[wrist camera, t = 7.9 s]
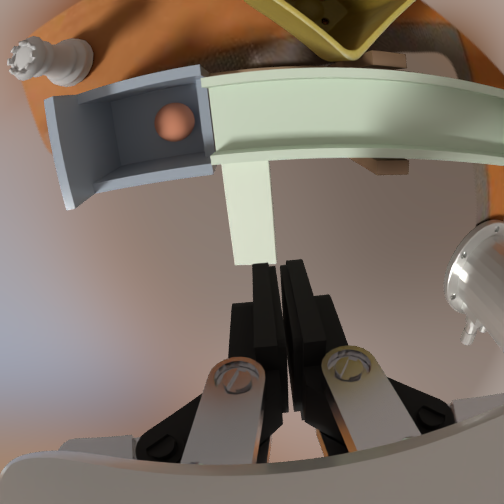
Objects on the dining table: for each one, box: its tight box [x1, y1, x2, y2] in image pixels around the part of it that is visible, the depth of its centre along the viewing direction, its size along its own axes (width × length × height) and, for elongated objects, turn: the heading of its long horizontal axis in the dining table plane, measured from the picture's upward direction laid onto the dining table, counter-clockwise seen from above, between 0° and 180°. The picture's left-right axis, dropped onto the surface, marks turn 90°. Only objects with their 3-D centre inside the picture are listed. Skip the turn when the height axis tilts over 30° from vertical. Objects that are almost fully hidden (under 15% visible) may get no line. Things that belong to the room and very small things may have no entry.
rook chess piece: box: [7, 36, 93, 87], centre depth 16 cm, size 4×4×8 cm
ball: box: [154, 103, 195, 142], centre depth 21 cm, size 3×3×3 cm
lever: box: [201, 68, 504, 265], centre depth 16 cm, size 11×19×3 cm, turn 96°
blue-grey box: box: [44, 64, 217, 210], centre depth 19 cm, size 7×9×9 cm
